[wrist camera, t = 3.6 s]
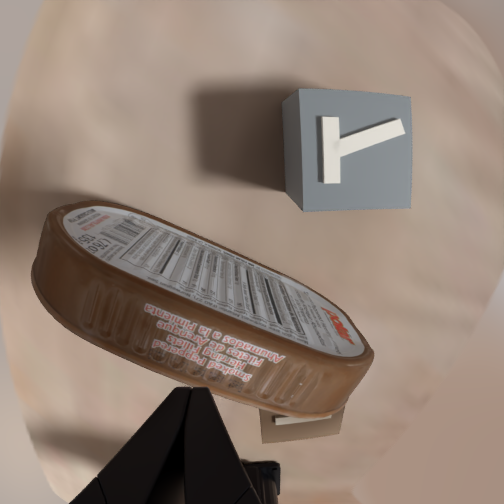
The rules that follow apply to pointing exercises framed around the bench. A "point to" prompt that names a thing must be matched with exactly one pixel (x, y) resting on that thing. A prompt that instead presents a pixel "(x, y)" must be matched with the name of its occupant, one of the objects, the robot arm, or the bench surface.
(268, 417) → the walnut number block
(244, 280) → the tin
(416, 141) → the bench surface
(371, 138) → the slate number block
